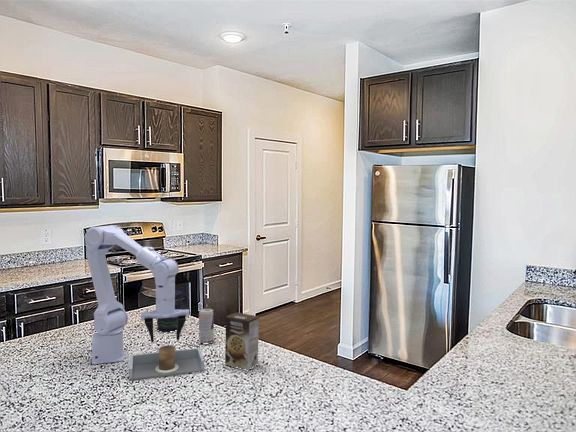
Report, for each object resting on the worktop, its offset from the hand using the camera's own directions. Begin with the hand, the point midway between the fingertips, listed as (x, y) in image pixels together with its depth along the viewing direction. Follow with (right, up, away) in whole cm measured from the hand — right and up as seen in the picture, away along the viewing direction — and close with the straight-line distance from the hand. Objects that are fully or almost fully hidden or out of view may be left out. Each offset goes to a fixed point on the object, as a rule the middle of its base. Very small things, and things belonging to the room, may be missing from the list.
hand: (165, 340), depth 131 cm
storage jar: (-9, -7, +37) cm, 39 cm away
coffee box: (+24, -9, +2) cm, 26 cm away
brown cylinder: (+1, -8, -2) cm, 8 cm away
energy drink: (+9, -8, +23) cm, 25 cm away
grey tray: (+1, -9, -1) cm, 9 cm away
